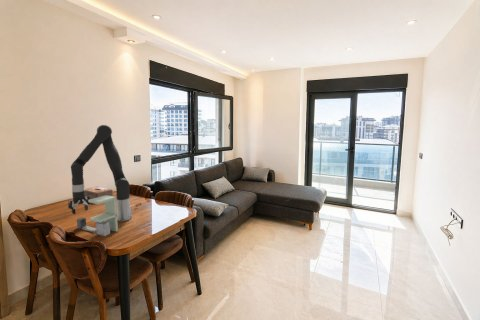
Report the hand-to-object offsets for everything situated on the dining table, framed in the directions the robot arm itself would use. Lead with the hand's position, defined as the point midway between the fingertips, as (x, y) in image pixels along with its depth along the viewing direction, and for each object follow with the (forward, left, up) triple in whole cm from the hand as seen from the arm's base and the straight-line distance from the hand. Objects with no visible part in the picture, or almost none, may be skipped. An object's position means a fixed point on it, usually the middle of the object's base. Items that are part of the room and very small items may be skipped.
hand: (80, 212), depth 180 cm
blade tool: (0, +7, -12) cm, 14 cm away
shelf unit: (-2, +23, -12) cm, 26 cm away
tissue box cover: (-52, -55, -13) cm, 76 cm away
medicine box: (0, +24, -12) cm, 27 cm away
